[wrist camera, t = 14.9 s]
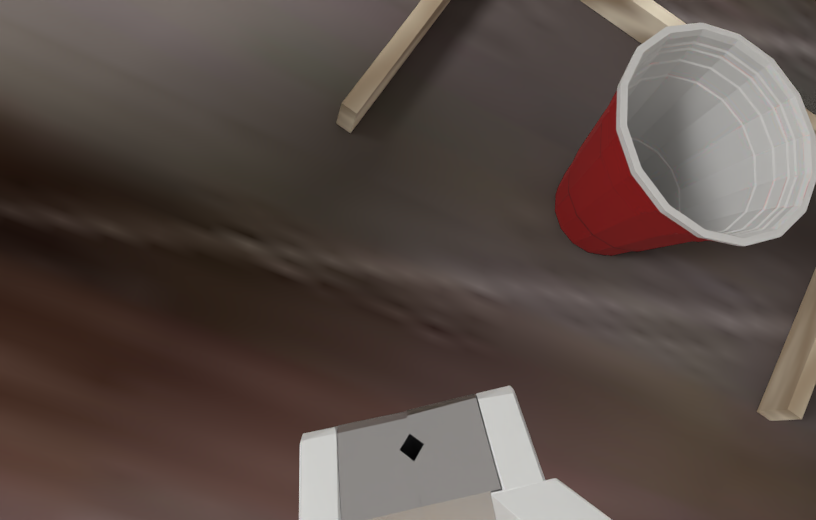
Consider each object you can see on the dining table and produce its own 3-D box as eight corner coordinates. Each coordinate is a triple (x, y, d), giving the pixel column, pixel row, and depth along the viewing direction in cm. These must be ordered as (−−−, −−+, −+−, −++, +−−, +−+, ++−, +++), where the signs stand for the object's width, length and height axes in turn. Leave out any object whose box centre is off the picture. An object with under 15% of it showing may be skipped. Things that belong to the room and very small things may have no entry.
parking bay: (335, 123, 40) (341, 103, 38) (490, -78, 46) (503, -106, 44) (770, 420, 41) (801, 419, 39) (864, 186, 48) (896, 172, 45)
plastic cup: (664, 324, 42) (820, 277, 30) (497, 262, 40) (595, 189, 29) (693, 166, 45) (843, 71, 34) (540, 105, 44) (643, -16, 32)
